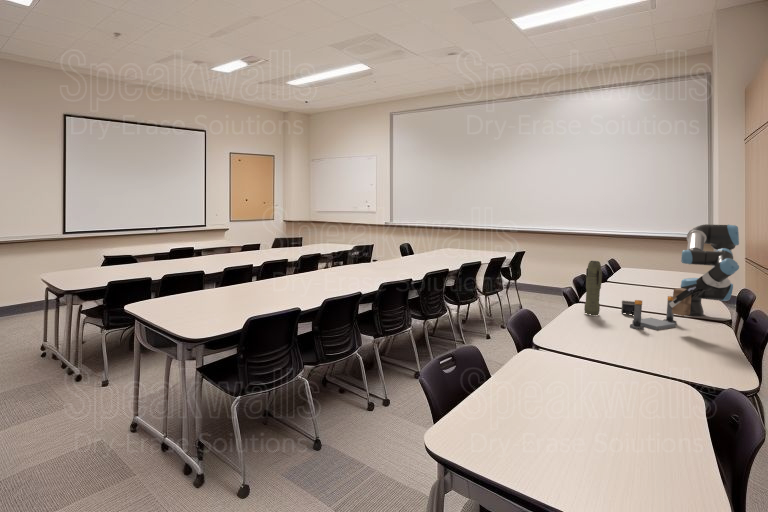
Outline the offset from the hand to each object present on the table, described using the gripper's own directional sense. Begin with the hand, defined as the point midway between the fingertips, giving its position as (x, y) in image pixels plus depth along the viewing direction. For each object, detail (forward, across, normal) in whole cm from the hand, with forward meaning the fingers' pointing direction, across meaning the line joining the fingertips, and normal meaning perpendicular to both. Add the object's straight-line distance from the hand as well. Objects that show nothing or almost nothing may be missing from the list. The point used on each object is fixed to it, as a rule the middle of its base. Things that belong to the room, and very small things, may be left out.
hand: (674, 304), depth 245 cm
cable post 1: (+19, -13, -2) cm, 23 cm away
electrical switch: (+36, +10, +14) cm, 40 cm away
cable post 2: (+19, +15, -2) cm, 25 cm away
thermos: (+43, -12, +21) cm, 49 cm away
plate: (+19, +1, -2) cm, 20 cm away
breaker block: (+1, 0, -6) cm, 6 cm away
